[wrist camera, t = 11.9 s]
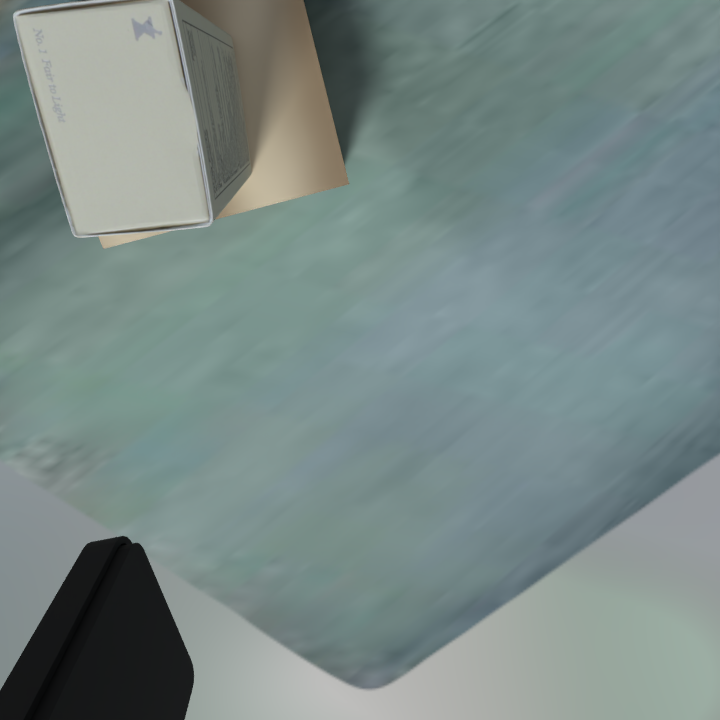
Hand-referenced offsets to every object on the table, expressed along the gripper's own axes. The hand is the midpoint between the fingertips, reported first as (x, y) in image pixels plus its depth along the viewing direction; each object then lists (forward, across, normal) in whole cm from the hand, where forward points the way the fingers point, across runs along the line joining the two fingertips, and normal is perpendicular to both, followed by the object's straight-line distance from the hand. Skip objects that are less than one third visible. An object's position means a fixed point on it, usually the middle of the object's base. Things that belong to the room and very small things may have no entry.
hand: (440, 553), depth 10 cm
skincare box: (+23, +7, -8) cm, 25 cm away
